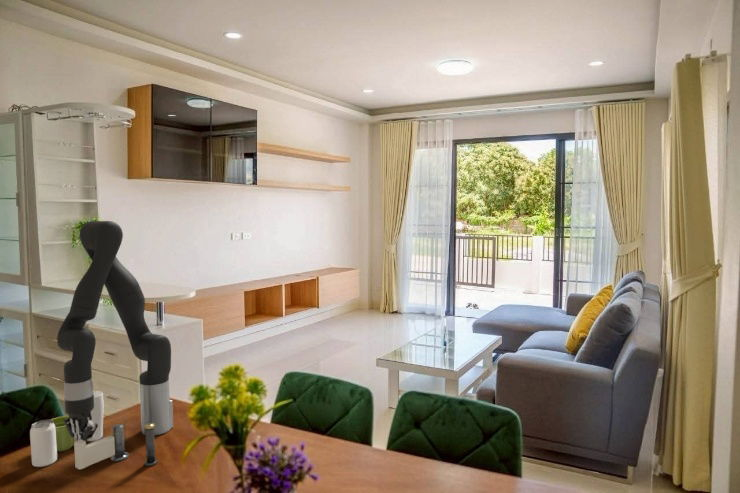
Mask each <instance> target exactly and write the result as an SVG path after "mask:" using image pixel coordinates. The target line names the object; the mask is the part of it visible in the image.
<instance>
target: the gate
mask: <svg viewBox="0 0 740 493" xmlns="http://www.w3.org/2000/svg"><path fill="white" fill-rule="evenodd" d="M73 448H74V464H75V469H77V470H79V471H80V470H83V469H86V468H88V467H89V466H91V465H93V464H96V463H99V462H101V461H103V460H106V459H108V458H111V456H113V455H115V444H114V437H113V435H108V436H105V437H102V438H101V439H99V440H96V441H91V442H89V443H87V445H86V441H84V440H78V441H74V445H73Z"/></svg>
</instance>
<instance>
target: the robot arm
mask: <svg viewBox="0 0 740 493" xmlns="http://www.w3.org/2000/svg"><path fill="white" fill-rule="evenodd" d="M79 238H80V239H79V240H80V243H81V245H82V247H83V248H84V250H85V252H86V254H87V255H88V256H89V258H90V260H91V262H90V265H89V266H88V269H87V270H86V272H85V273H84V274H83V276H82V277H81V279H80V281H79V283H78V284H77V286H76V288H75V291H74V293H73V295H72V296H73V297H72V301H71V304H70V308H69V312H68V313H67V315H66V316H65V318H64V321H63V322H62V324H61V326H60V328H59V330H58V333H57V338H56V343H57V346H58V347H59V349H60V350H63V351H65V352H69V353H70V352H71V353H72V356H71V359H70V360H68V361H66V362H65V364H64V365H63V376H64V379H63V381H64V383H63V384H64V387H63V394H64V395H63V396H64V412H65V414H67V415H68V416H69V418H67V419H65V420H64V423H65V425H66V427H67V429H68V431H69V433H70V435H71V437H74V442H76V441H78V440H84V441H86V445H87V444H88V441H87V439H89V438H92V436H93V434H94V432H95V431H96V429H97V427H98V424H97V423H95V424H94V423H93V422H92V421H91V420H92V416H91V411H92V410H93V408H94V391H95V390H94V382H93V375H92V363H93V359H94V354H95V349H96V343H97V342H96V337H95V336H96V335H95V334H94V333H93V331H92V330H91V329H89V328H86V327H85V325H86V323H87V322H88V321H92V320H94V319H95V318H96V316H97V313H98V309H99V304H100V300H101V297H102V292H103V290H104V286H105V288H106V291H107V293H108V296H109V297H110V300H111V302H112V304H113V306H114V308H115V310H116V312H117V314H118V316H119V318H120V320H121V322H122V325H123V327H124V330H125V332H126V335H127V338H128V341H129V344H130V347H131V350H132V352H133V355H134V356H135V357H136V358H137V359H138V360H141V361H143V362H147V367H146V370H145V371H143V372H141V373H140V374H139V378H138V379H139V381H138V382H139V400H140V418H141V419H140V422H141V423H140V424H141V425H140V426H141V434H142V435H144V436H145V429H144V425H145V424H148V423H154V424H155V427H154V436H158V435H159V436H160V435H162V434H165V433H167V432H169V431H170V430H171V429H172V428H174V413H173V412H174V411H173V410H174V408H173V406H174V404H173V400H172V399H170V398H171V397H170V372H171V369H172V345H171V342H170V340H169V338H168V337H167V336H165V335H163V334H156V333H152V332H151V330H150V328H149V327H148V324H147V322H146V319H145V307H146V305H145V304H146V301H145V300H146V299H145V296H144V293H143V290H142V288H141V286H140V283H139V282H138V280H137V278H136V277H135V276H134V275H133V274H132V273H131V272H130V271H129V269H127V268H126V267H125V266H124V265H123V264H122V263H121V261H120V260H119V259H118V257H117V254H118V252H119V250H120V247H121V245H122V241H123V238H124V234H123V230H122V227H121V226H120V225H119V224H118V223H117V222H115V221H111V220H96V221H95V220H94V221H93V220H92V221H88V222H85V223H83V225H82V226H81V228H80V230H79ZM84 327H85V328H84Z"/></svg>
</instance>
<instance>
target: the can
mask: <svg viewBox="0 0 740 493" xmlns="http://www.w3.org/2000/svg"><path fill="white" fill-rule="evenodd" d="M29 440H30V454H31V455H30V456H31V464H32V466H33V467H34V468H35V467H36V468H43V467H47V466H51V465H53V464H55V462H56V461H57V460H58V451H57V445H56V429H55V425H54V423H53V421H52V420H51V419H43V420H39V421H36V422H34V423H32V424H31V428H30V430H29Z"/></svg>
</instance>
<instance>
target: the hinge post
mask: <svg viewBox="0 0 740 493" xmlns="http://www.w3.org/2000/svg"><path fill="white" fill-rule="evenodd" d="M124 427H125V425H124V423H117V424H113V426H112V436H113V437H114V444H115V455H113V456H111V457H110V461H111V462H113V463H115V462H122V461H125V460H126V459H128V458H129V455H130V454H129V452H127V451H126V447H125V446H126V445H125V443H126V442H125V428H124Z"/></svg>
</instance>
